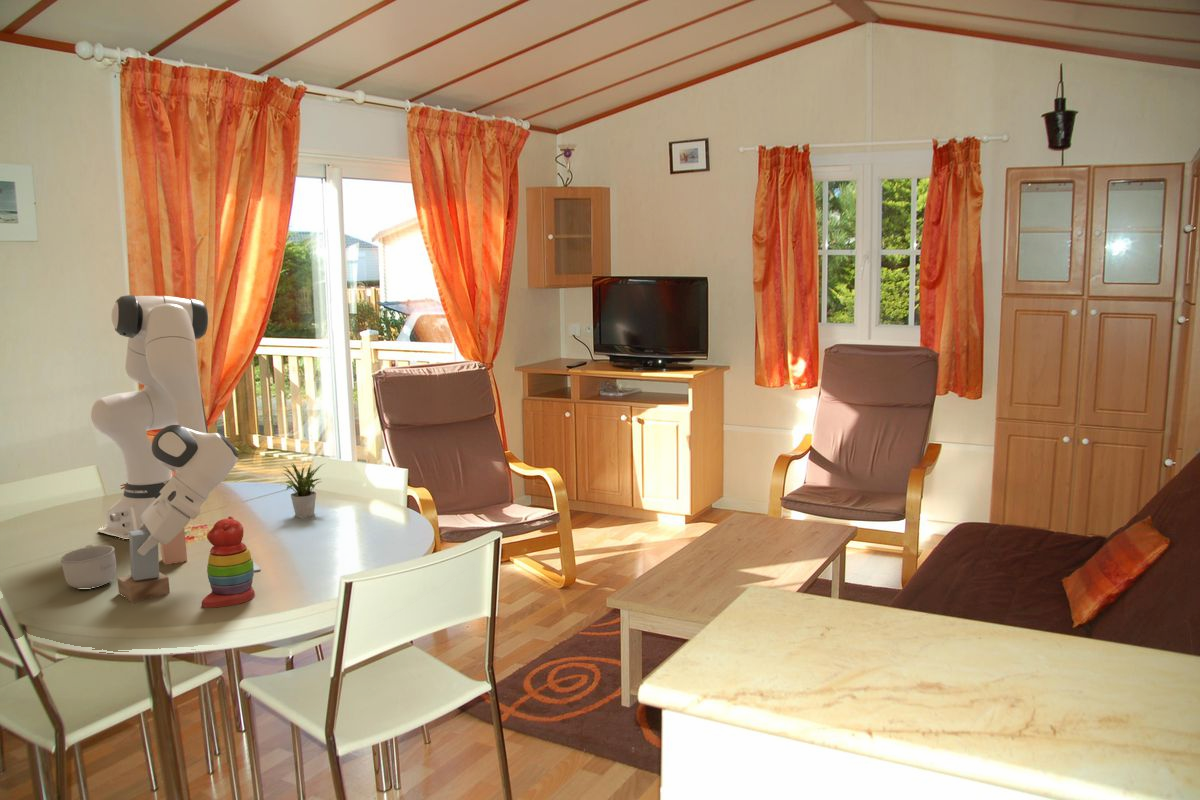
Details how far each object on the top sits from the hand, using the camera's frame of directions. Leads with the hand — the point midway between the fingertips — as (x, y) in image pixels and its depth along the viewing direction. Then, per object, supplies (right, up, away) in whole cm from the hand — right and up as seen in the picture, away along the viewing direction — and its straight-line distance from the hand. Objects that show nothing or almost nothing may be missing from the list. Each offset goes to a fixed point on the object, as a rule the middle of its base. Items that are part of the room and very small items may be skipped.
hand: (136, 547), depth 205 cm
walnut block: (+1, -11, +2) cm, 11 cm away
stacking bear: (+22, -11, -2) cm, 24 cm away
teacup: (-15, -10, +9) cm, 20 cm away
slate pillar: (+1, -7, +2) cm, 7 cm away
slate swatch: (+17, -8, +17) cm, 25 cm away
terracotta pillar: (-3, -7, +25) cm, 26 cm away
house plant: (+15, -1, +64) cm, 66 cm away
